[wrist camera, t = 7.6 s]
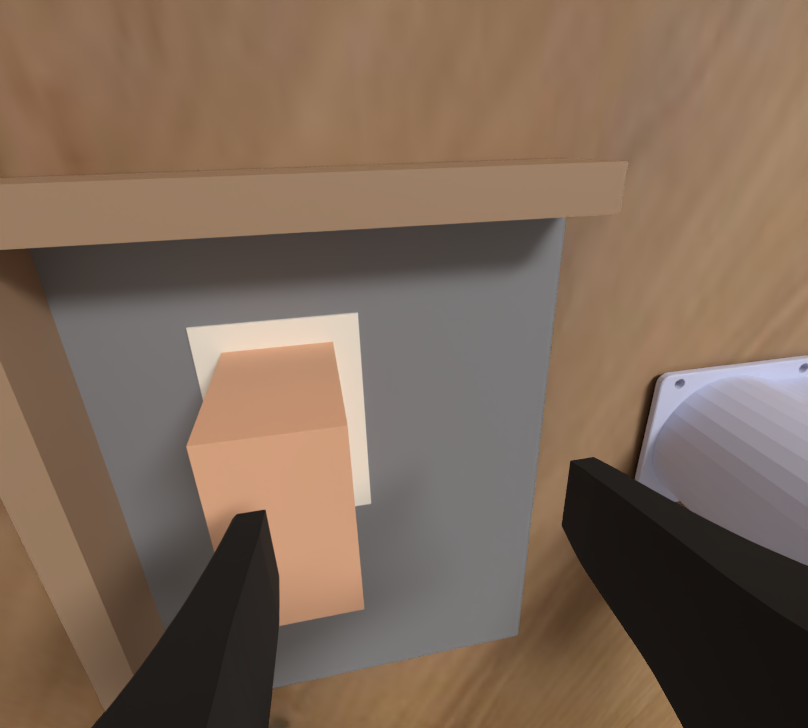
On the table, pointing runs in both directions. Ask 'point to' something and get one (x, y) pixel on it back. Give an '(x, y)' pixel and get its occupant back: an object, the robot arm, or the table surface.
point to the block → (284, 470)
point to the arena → (276, 327)
